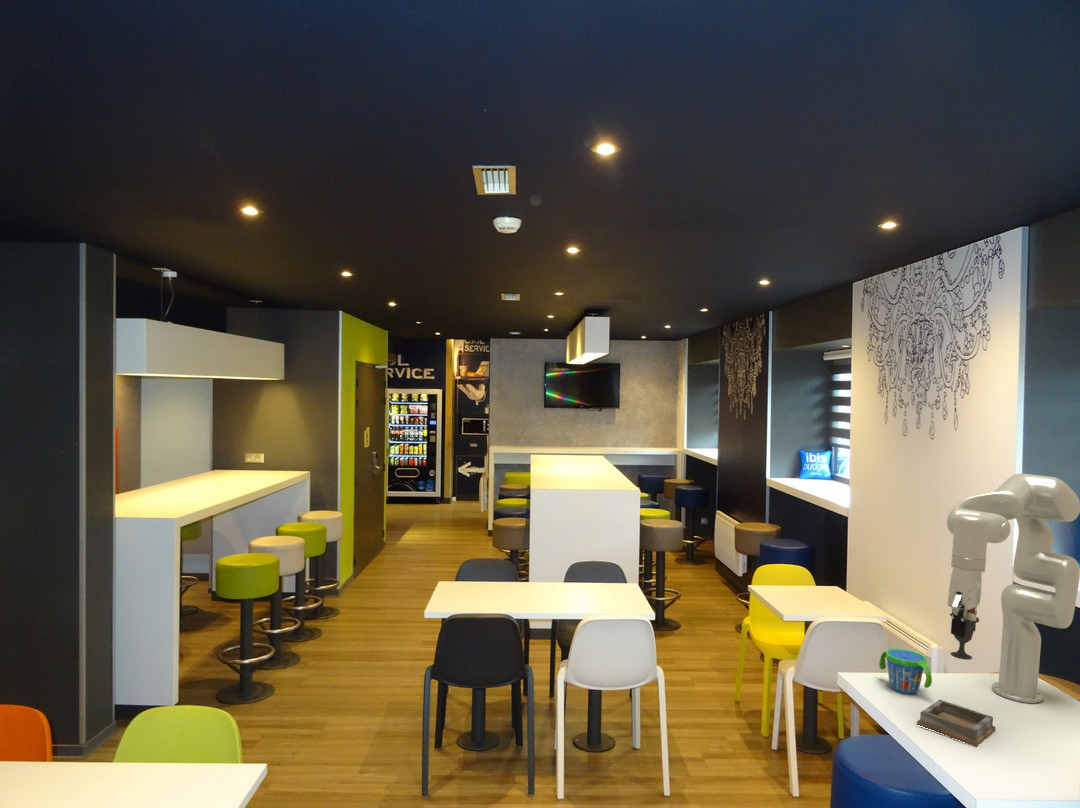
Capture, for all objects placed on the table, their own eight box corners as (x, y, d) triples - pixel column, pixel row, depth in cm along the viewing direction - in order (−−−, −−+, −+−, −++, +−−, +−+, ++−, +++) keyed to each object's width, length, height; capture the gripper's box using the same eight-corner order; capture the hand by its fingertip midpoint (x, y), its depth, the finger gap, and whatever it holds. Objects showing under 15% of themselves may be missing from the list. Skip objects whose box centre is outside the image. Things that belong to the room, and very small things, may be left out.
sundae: (980, 662, 191) (985, 603, 190) (951, 658, 192) (955, 600, 192) (971, 653, 197) (975, 596, 197) (943, 650, 199) (947, 593, 198)
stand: (937, 711, 205) (938, 698, 205) (995, 731, 195) (996, 717, 195) (916, 725, 196) (917, 711, 196) (976, 747, 185) (977, 732, 185)
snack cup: (868, 680, 225) (871, 646, 225) (896, 677, 229) (898, 644, 228) (911, 702, 210) (914, 666, 210) (940, 699, 214) (942, 663, 214)
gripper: (964, 556, 202) (959, 622, 203) (939, 564, 191) (934, 635, 191) (995, 562, 197) (990, 630, 198) (972, 571, 185) (967, 643, 186)
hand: (963, 632), depth 194 cm, fingers closed on sundae, 6 cm apart
